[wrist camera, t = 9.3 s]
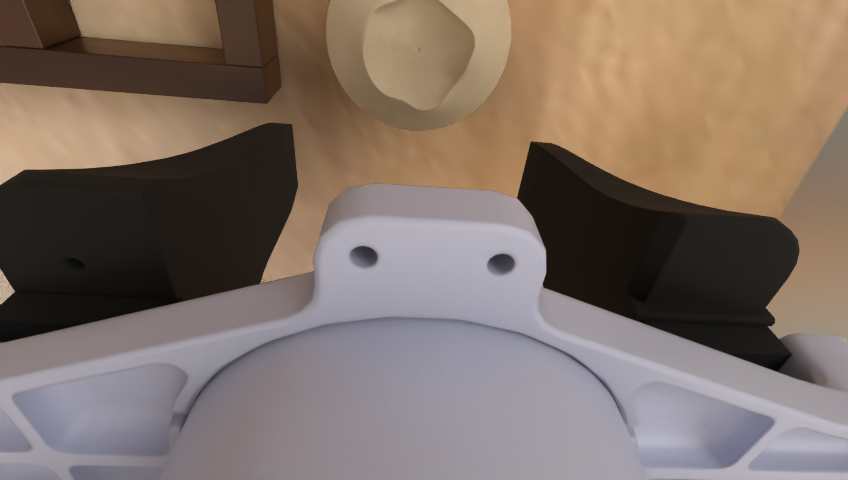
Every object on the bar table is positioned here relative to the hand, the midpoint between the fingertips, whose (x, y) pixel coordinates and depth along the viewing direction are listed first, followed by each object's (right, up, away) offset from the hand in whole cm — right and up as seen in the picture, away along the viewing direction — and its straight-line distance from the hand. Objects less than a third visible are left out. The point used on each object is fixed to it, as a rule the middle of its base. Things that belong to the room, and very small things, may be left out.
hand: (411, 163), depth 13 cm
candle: (0, +9, +7) cm, 11 cm away
